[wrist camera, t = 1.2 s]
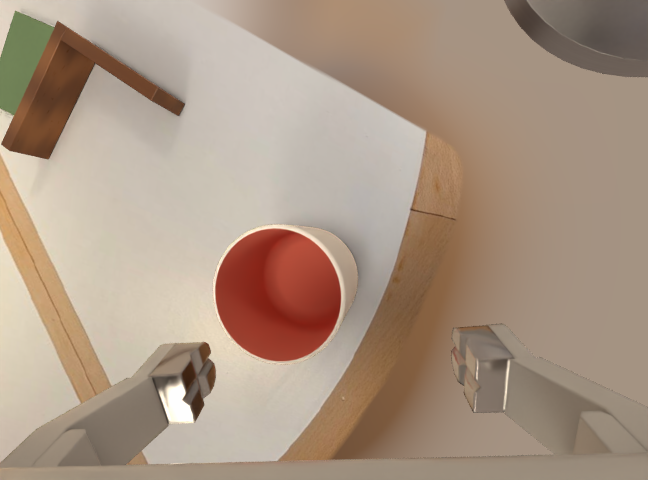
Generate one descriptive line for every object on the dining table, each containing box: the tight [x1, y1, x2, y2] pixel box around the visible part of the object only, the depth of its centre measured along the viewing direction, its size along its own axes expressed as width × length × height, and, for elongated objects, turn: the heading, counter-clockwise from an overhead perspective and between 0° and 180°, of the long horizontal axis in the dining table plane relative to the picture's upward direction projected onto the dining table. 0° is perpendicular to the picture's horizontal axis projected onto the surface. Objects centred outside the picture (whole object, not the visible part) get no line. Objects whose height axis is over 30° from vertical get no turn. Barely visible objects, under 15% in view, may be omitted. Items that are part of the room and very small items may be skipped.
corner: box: [1, 21, 185, 159], centre depth 34 cm, size 15×15×4 cm
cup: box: [213, 224, 358, 365], centre depth 26 cm, size 10×10×10 cm
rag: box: [0, 11, 54, 115], centre depth 38 cm, size 12×9×1 cm
